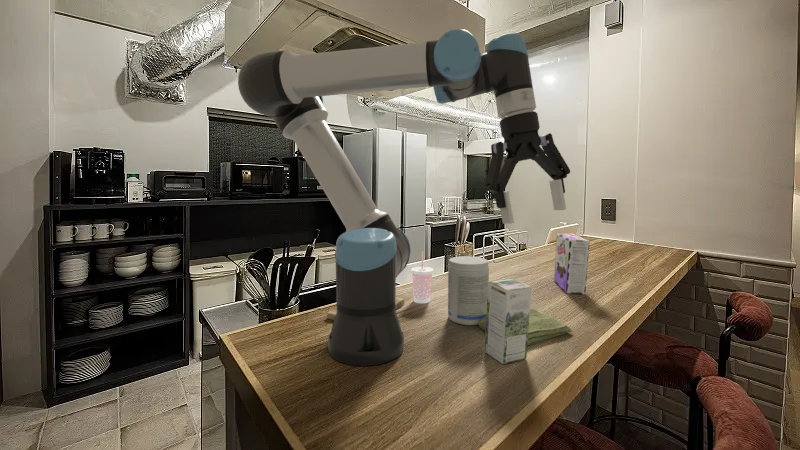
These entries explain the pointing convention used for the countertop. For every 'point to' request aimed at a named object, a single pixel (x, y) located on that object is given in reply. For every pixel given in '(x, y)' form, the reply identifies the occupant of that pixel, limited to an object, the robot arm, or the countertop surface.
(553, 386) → the countertop surface
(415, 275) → the beverage cup
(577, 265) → the candy box
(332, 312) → the beech cutting board
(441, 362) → the countertop surface
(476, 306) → the supplement tub
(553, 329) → the washcloth
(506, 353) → the syrup box
